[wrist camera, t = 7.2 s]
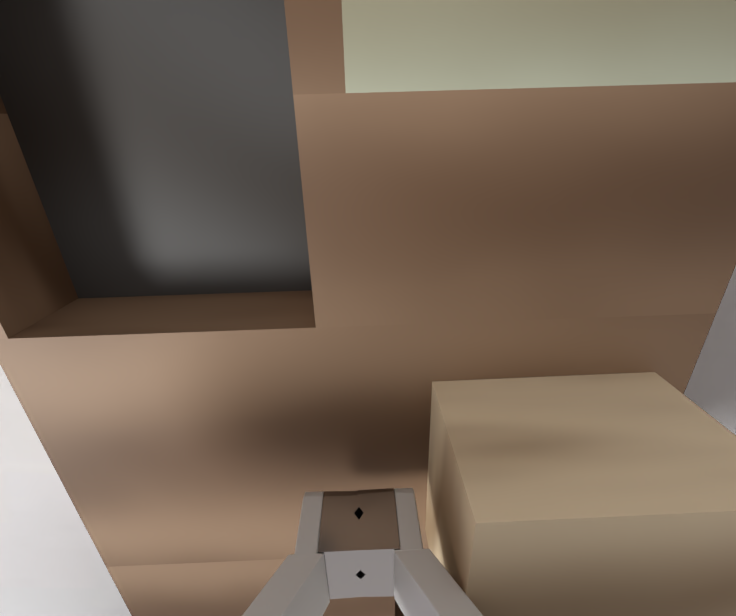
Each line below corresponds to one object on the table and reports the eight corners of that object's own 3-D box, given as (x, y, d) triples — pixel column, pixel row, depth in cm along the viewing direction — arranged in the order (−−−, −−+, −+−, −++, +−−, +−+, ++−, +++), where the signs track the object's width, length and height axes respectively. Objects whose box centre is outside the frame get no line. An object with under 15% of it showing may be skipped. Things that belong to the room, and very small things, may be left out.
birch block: (602, 520, 12) (704, 679, 9) (425, 529, 12) (453, 691, 9) (654, 371, 10) (826, 506, 6) (432, 381, 10) (475, 522, 6)
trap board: (544, 585, 19) (575, 660, 16) (193, 601, 19) (165, 679, 16) (835, -422, 7) (1175, -822, 4) (-200, -412, 6) (-624, -829, 4)
